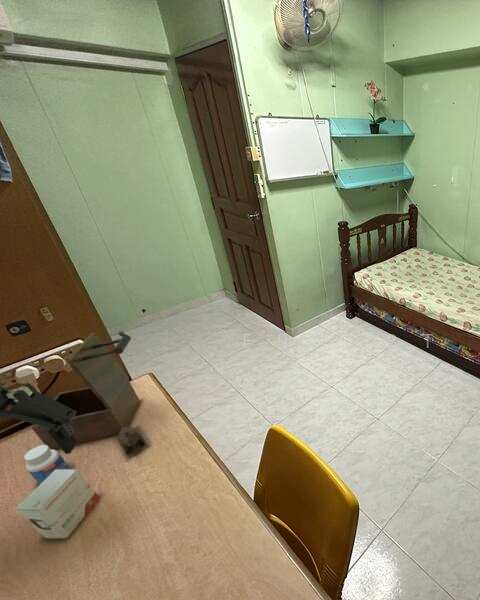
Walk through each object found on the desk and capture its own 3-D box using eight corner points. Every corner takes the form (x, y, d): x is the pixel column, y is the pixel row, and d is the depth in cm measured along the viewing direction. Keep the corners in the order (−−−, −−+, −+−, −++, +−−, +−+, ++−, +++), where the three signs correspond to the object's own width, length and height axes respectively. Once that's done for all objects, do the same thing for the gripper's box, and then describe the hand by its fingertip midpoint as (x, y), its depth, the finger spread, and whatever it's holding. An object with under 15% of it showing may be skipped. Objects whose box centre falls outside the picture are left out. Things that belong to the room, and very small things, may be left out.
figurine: (155, 457, 83) (142, 435, 79) (134, 469, 80) (120, 447, 75) (138, 428, 90) (125, 407, 86) (118, 439, 87) (104, 418, 83)
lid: (66, 361, 75) (111, 350, 77) (91, 332, 85) (130, 323, 87) (108, 409, 84) (147, 398, 86) (126, 378, 94) (160, 369, 96)
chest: (51, 452, 84) (30, 427, 79) (75, 416, 94) (58, 392, 89) (125, 434, 89) (110, 410, 84) (140, 402, 99) (128, 379, 94)
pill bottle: (57, 488, 75) (34, 463, 71) (34, 488, 75) (11, 463, 71) (77, 467, 80) (58, 442, 75) (57, 466, 80) (36, 442, 75)
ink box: (81, 497, 74) (55, 467, 68) (102, 497, 74) (78, 467, 68) (44, 540, 66) (11, 510, 60) (68, 540, 66) (37, 510, 60)
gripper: (-194, 414, 43) (-81, 500, 54) (38, 372, 51) (98, 455, 61) (-136, 378, 49) (-45, 461, 60) (63, 346, 57) (113, 425, 67)
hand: (27, 458), depth 60 cm, fingers open, 13 cm apart
